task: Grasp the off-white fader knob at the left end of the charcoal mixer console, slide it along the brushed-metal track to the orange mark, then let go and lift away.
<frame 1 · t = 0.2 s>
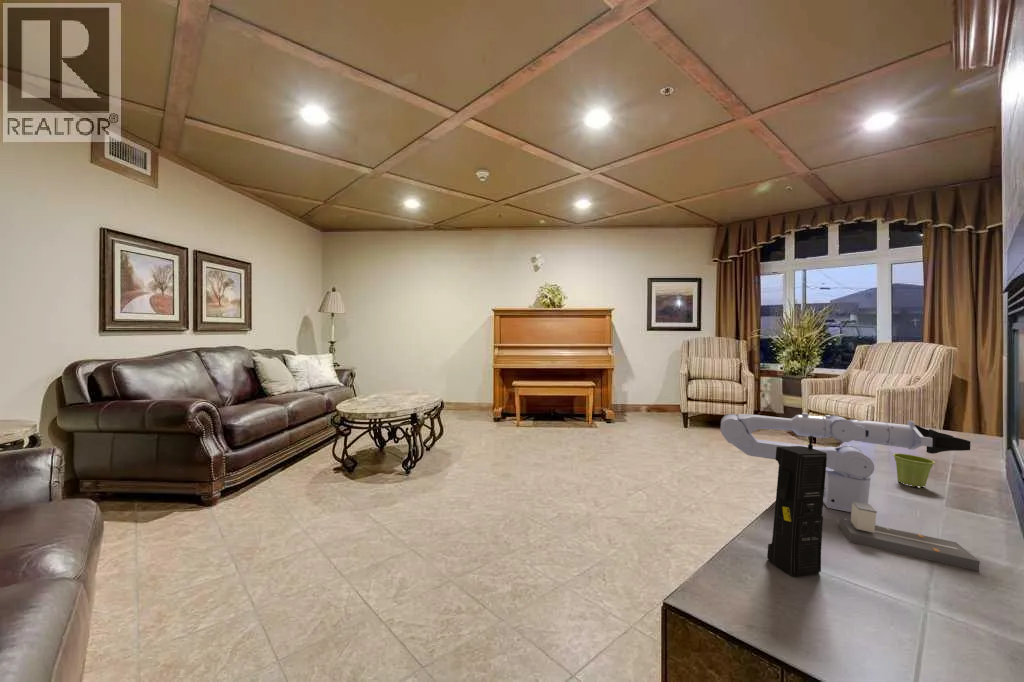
hand: (961, 442, 95), 21 cm above the fireplace hearth, tool horizontal, fingers open, 7 cm apart
portable radio: (791, 568, 75), on the fireplace hearth
plant pot: (910, 485, 126), on the fireplace hearth
console: (902, 546, 86), on the fireplace hearth
fader: (863, 516, 89), point 5 cm above the fireplace hearth, slide at 0.0 cm
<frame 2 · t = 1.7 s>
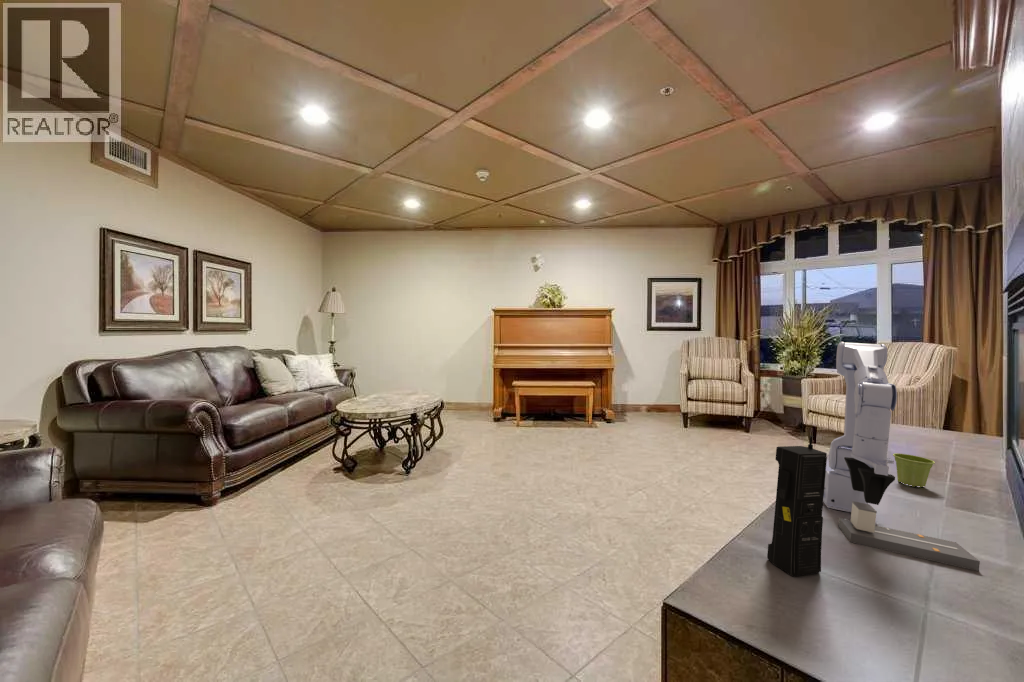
hand: (865, 496, 88), 9 cm above the fireplace hearth, tool pointing down, fingers open, 7 cm apart
nothing on the fireplace hearth moved.
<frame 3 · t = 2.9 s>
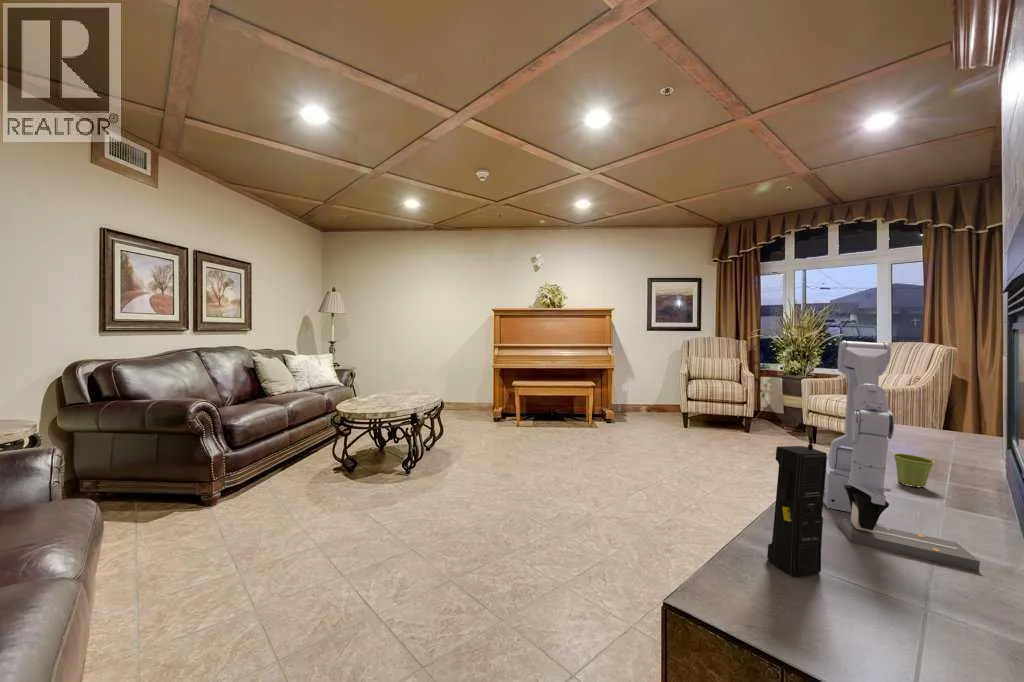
hand: (862, 523, 89), 3 cm above the fireplace hearth, tool pointing down, fingers closed on fader, 4 cm apart
fader: (863, 516, 89), point 5 cm above the fireplace hearth, slide at 0.0 cm, touching gripper
everything else where it was.
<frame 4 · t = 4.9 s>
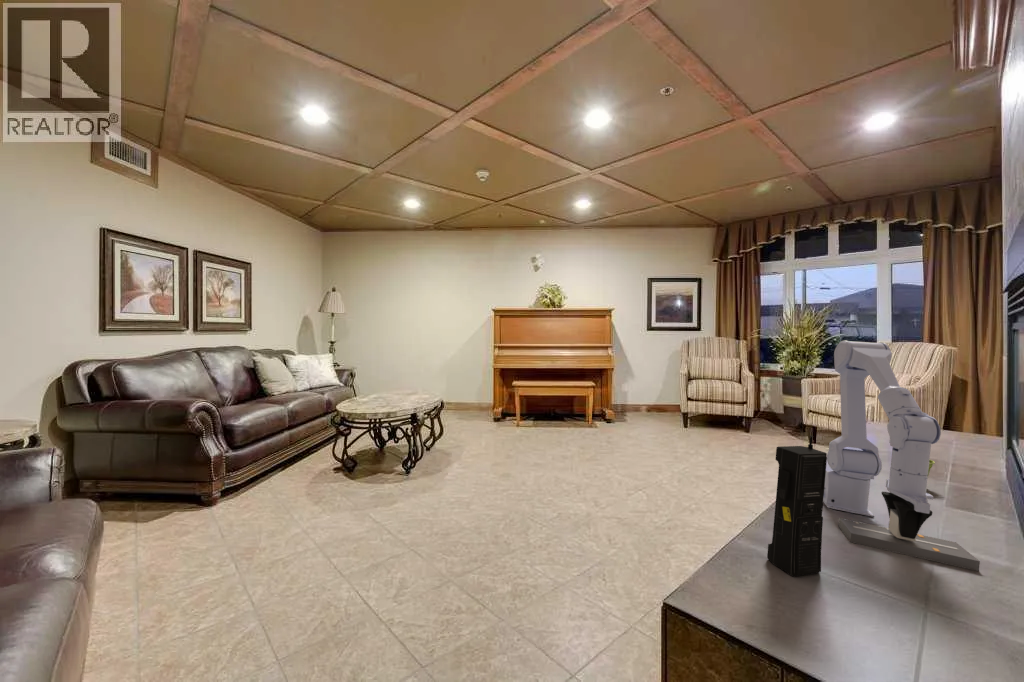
hand: (902, 532, 86), 3 cm above the fireplace hearth, tool pointing down, fingers closed on fader, 4 cm apart
fader: (902, 524, 86), point 5 cm above the fireplace hearth, slide at 6.7 cm, touching gripper
everything else where it was.
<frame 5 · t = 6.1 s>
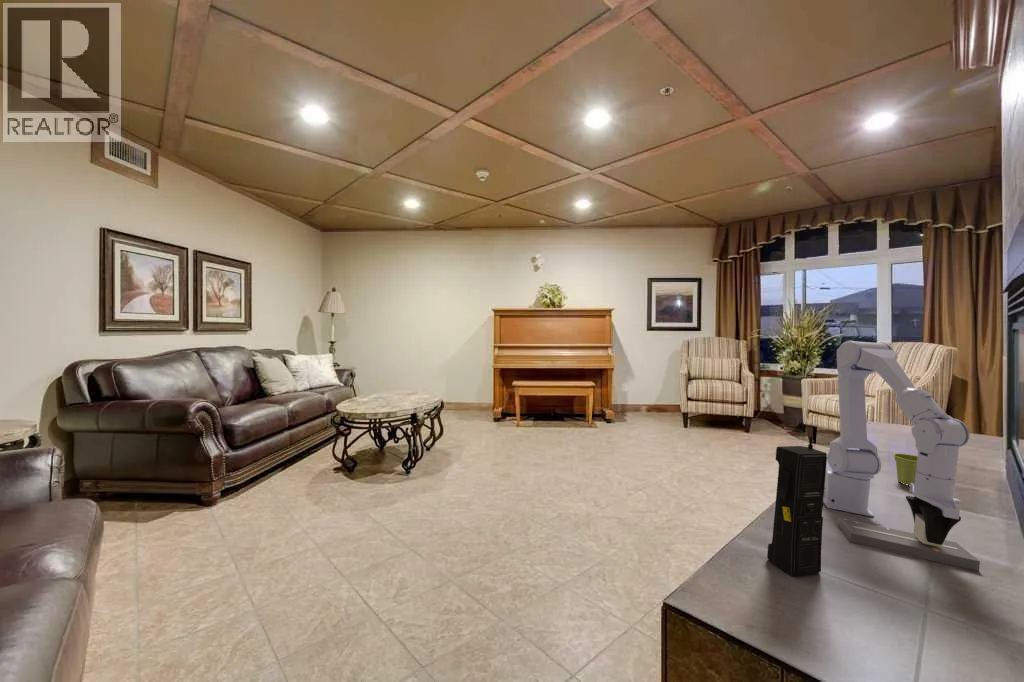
hand: (928, 537, 84), 3 cm above the fireplace hearth, tool pointing down, fingers closed on fader, 4 cm apart
fader: (928, 530, 84), point 5 cm above the fireplace hearth, slide at 10.9 cm, touching gripper
everything else where it was.
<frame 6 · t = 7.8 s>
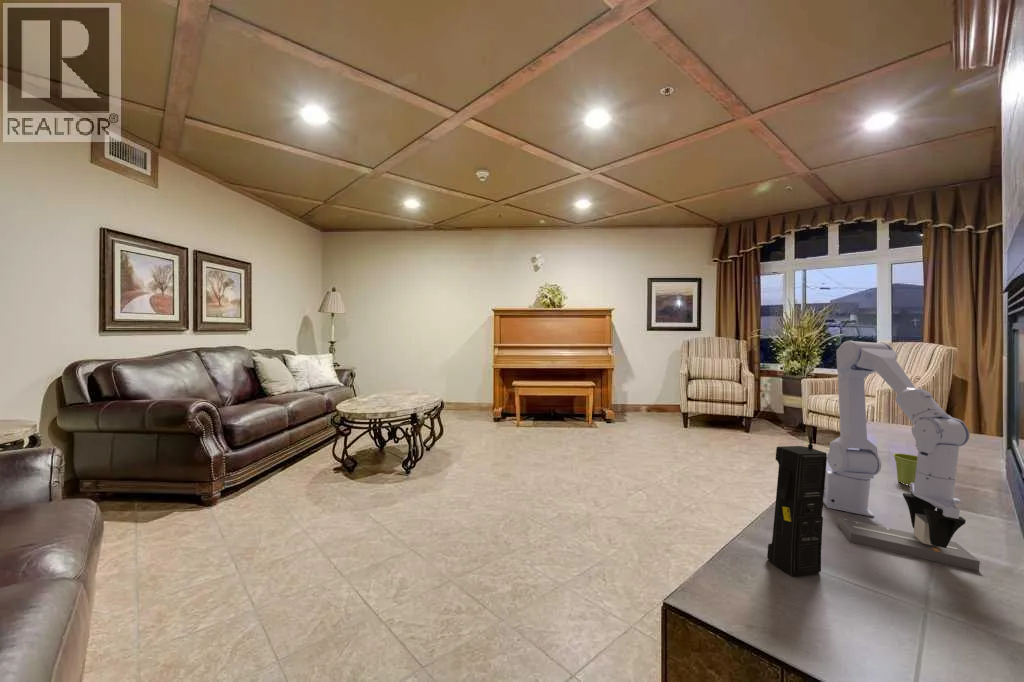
hand: (928, 537, 84), 3 cm above the fireplace hearth, tool pointing down, fingers open, 7 cm apart
fader: (928, 530, 84), point 5 cm above the fireplace hearth, slide at 10.9 cm
everything else where it was.
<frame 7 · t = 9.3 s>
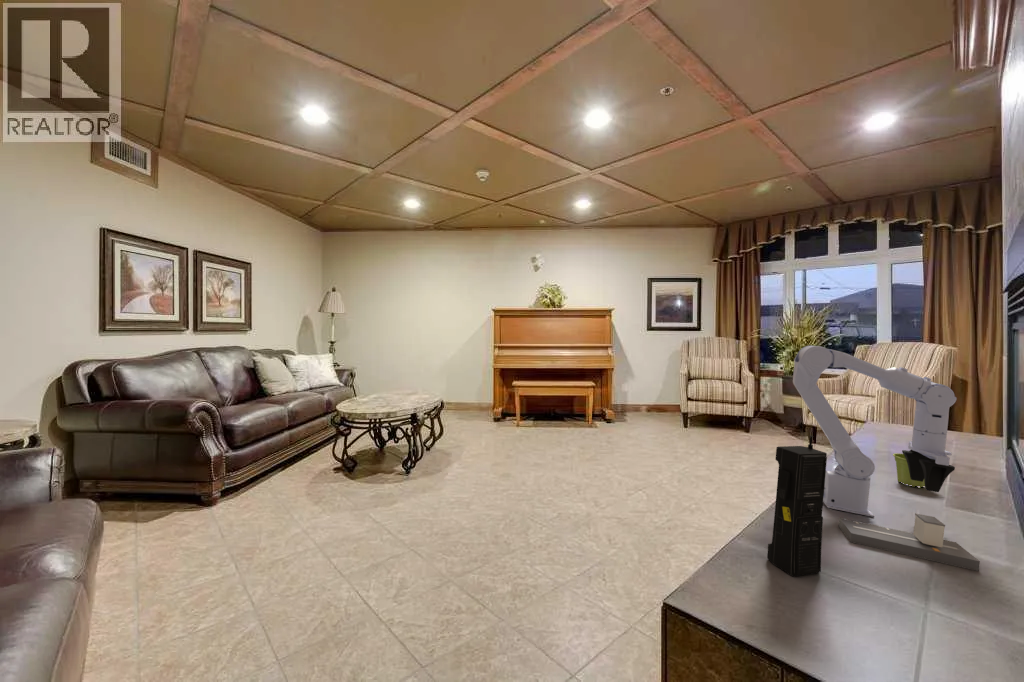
hand: (924, 485, 98), 9 cm above the fireplace hearth, tool pointing down, fingers open, 7 cm apart
nothing on the fireplace hearth moved.
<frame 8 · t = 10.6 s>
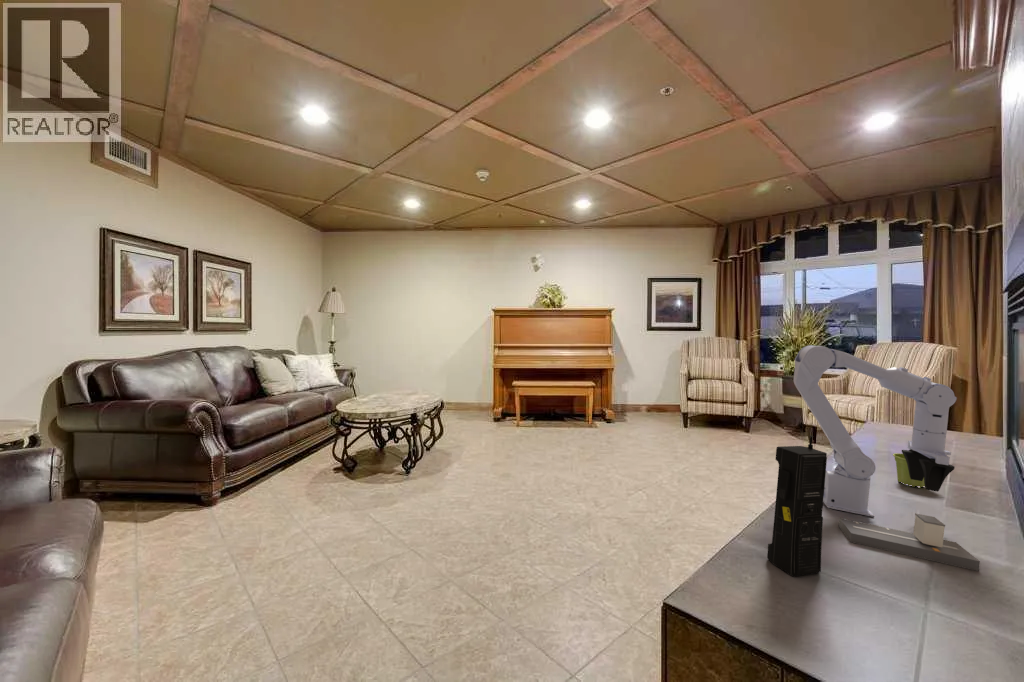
hand: (923, 484, 98), 9 cm above the fireplace hearth, tool pointing down, fingers open, 7 cm apart
nothing on the fireplace hearth moved.
at the end: fader slide at 10.9 cm; the gripper is holding nothing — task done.
